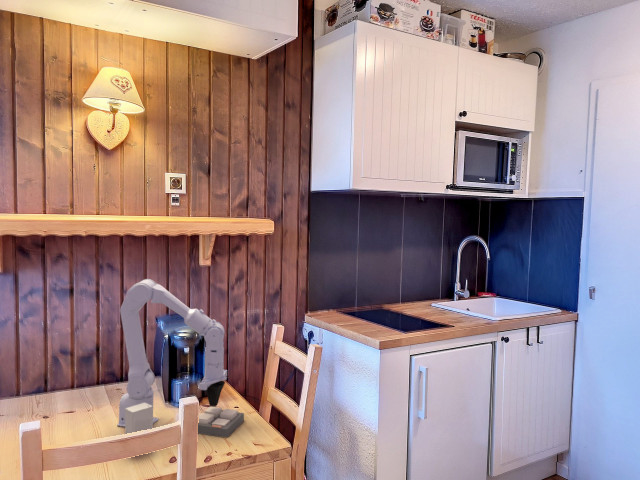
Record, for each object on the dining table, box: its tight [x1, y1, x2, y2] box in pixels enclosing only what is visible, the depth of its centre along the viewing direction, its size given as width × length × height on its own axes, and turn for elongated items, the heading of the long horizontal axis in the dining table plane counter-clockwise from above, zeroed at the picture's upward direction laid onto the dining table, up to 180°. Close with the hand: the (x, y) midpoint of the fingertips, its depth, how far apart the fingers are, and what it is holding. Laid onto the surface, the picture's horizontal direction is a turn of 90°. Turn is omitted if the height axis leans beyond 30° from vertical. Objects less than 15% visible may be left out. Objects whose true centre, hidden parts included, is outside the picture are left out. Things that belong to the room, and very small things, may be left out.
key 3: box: [212, 418, 230, 427], centre depth 142 cm, size 4×4×2 cm
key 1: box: [198, 412, 214, 424], centre depth 143 cm, size 4×4×2 cm
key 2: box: [203, 406, 223, 417], centre depth 148 cm, size 4×4×2 cm
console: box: [197, 409, 245, 438], centre depth 145 cm, size 12×12×3 cm
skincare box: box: [124, 402, 154, 435], centre depth 128 cm, size 6×4×12 cm
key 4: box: [220, 408, 239, 420], centre depth 147 cm, size 4×4×2 cm
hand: (213, 405), depth 148 cm, fingers closed
